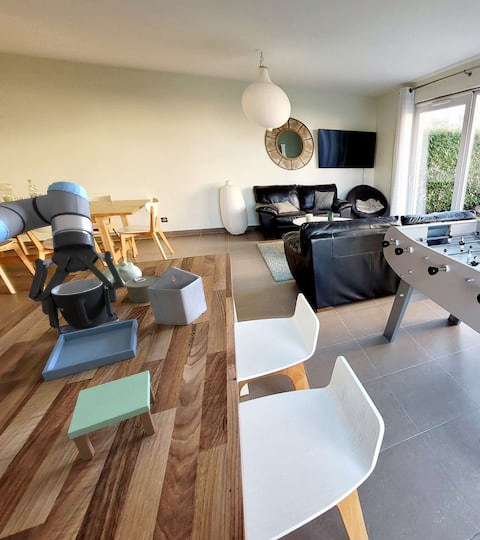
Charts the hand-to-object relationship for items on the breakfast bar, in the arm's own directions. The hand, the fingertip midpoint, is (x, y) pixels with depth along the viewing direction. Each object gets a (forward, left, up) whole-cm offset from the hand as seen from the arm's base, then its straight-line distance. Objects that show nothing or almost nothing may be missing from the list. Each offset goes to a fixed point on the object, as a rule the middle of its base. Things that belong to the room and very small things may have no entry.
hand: (83, 320), depth 66 cm
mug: (0, +3, -3) cm, 5 cm away
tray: (-4, +19, -19) cm, 27 cm away
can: (+8, +52, -19) cm, 56 cm away
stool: (+4, -17, -19) cm, 26 cm away
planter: (+19, +24, -19) cm, 36 cm away
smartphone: (-8, +36, -19) cm, 41 cm away
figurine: (-2, +71, -19) cm, 73 cm away
